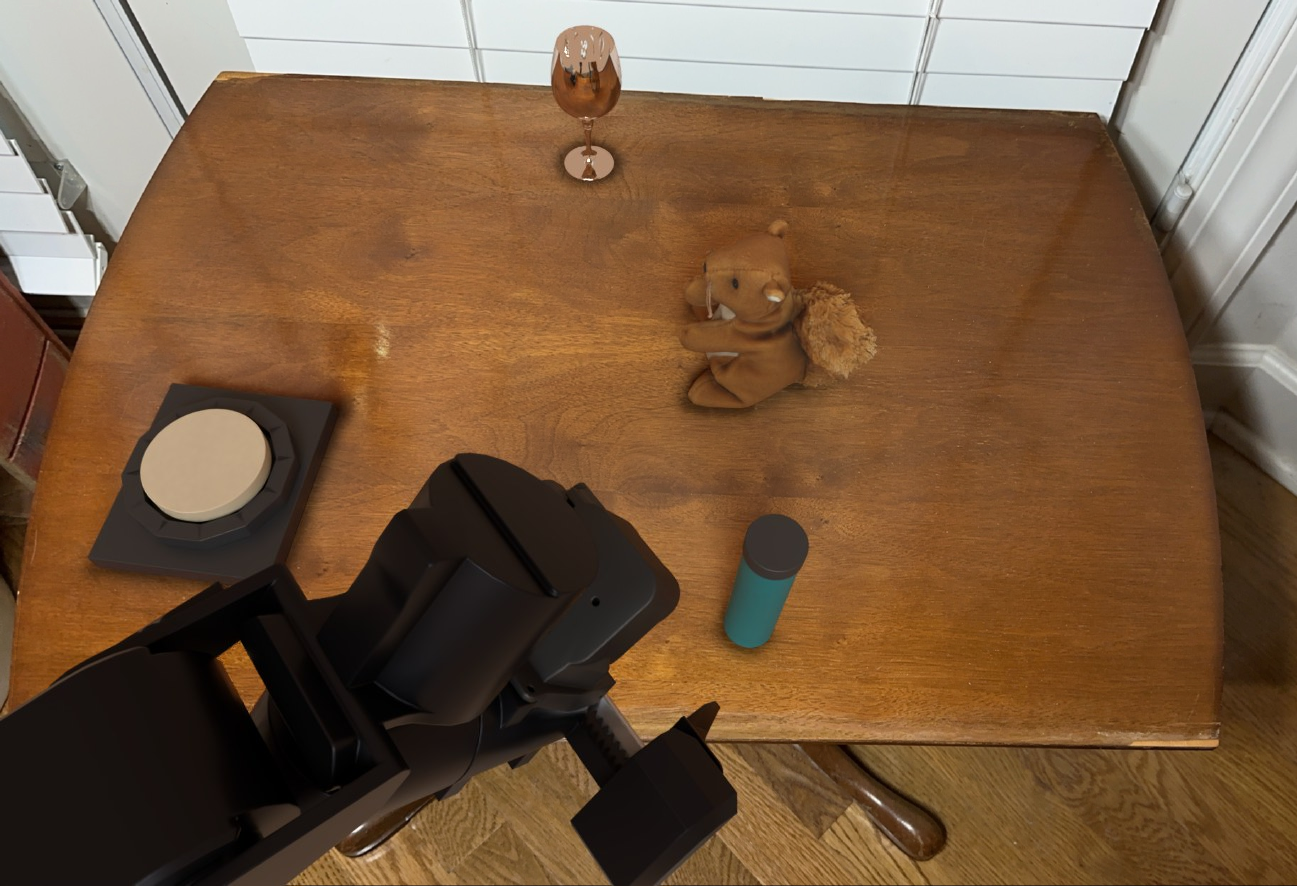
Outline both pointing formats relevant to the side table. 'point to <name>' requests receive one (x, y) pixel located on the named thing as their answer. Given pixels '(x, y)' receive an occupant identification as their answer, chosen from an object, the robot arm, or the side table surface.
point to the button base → (241, 538)
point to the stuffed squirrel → (768, 325)
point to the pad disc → (206, 465)
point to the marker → (764, 578)
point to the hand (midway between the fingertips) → (654, 636)
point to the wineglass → (586, 91)
